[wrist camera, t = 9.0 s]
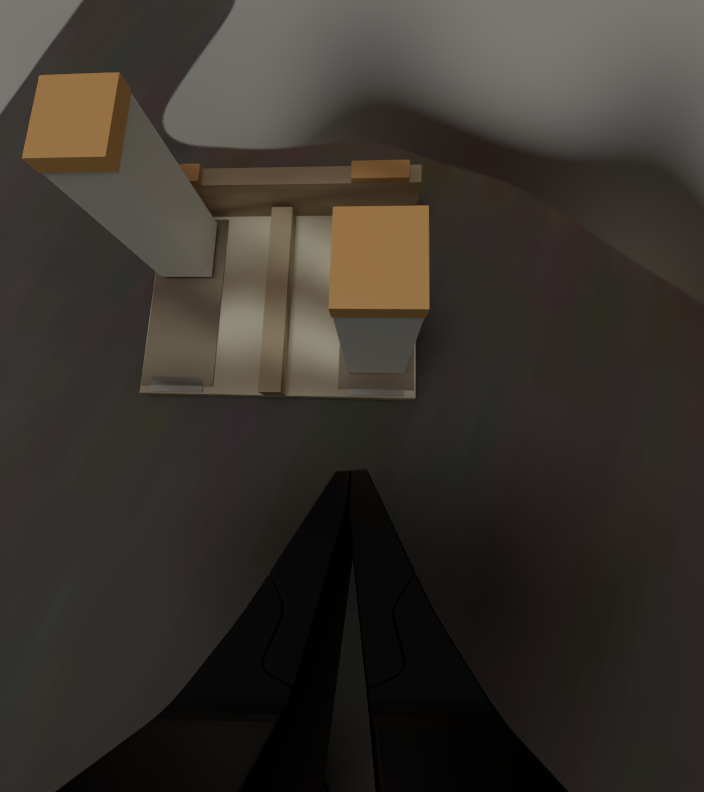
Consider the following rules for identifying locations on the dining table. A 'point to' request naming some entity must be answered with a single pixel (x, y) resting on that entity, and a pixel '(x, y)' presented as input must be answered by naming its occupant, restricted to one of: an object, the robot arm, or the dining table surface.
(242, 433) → the dining table surface
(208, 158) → the dining table surface
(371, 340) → the tab
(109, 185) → the tab
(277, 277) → the switch bank
